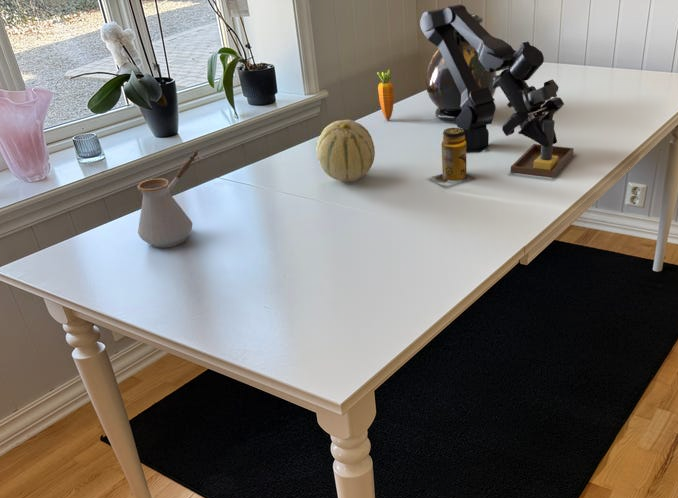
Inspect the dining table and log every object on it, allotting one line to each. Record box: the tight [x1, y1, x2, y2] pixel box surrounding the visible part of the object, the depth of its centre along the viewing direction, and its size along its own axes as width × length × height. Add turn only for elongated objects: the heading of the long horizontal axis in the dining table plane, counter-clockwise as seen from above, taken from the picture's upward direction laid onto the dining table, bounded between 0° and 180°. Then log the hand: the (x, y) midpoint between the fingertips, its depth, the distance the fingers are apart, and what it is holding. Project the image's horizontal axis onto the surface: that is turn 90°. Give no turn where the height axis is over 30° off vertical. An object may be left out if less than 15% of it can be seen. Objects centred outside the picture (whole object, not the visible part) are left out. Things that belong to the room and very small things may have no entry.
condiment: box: [429, 127, 467, 186], centre depth 170 cm, size 7×8×12 cm
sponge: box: [534, 119, 558, 171], centre depth 171 cm, size 6×4×12 cm
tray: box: [510, 143, 575, 179], centre depth 177 cm, size 18×11×2 cm, turn 154°
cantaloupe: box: [316, 119, 376, 183], centre depth 172 cm, size 15×15×15 cm
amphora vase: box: [425, 13, 498, 124], centre depth 207 cm, size 22×22×28 cm
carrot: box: [376, 69, 395, 122], centre depth 211 cm, size 5×5×15 cm
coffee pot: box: [136, 150, 204, 249], centre depth 151 cm, size 21×12×15 cm, turn 155°
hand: (551, 144), depth 170 cm, fingers closed on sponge, 3 cm apart
